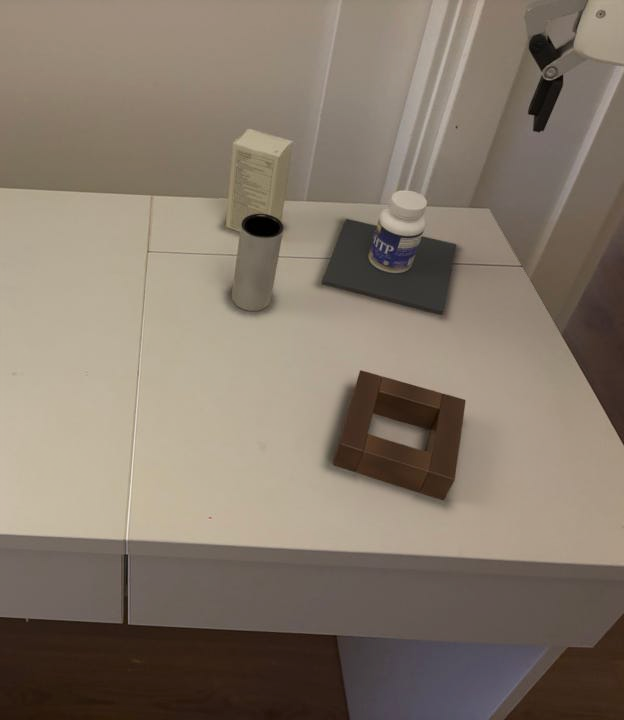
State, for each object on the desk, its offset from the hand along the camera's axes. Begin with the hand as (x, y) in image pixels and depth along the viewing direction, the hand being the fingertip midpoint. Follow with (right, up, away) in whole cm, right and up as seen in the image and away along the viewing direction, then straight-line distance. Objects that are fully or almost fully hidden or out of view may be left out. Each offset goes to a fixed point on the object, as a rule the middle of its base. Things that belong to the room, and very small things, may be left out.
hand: (604, 136), depth 57 cm
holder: (-11, -25, +15) cm, 31 cm away
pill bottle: (-5, -5, +34) cm, 35 cm away
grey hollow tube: (-23, -10, +29) cm, 39 cm away
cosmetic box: (-21, 0, +40) cm, 45 cm away
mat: (-5, -6, +34) cm, 35 cm away
